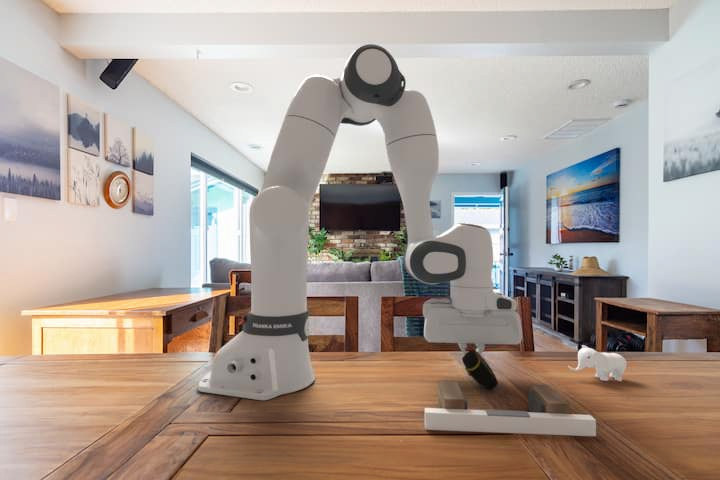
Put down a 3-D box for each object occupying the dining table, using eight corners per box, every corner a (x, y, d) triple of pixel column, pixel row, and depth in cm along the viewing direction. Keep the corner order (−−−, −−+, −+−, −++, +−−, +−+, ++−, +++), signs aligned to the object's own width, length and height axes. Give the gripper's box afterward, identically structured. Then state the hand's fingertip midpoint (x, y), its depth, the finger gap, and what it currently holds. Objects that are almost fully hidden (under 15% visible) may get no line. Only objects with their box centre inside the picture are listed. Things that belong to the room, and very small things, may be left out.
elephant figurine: (558, 372, 78) (558, 343, 78) (613, 372, 78) (613, 342, 78) (579, 386, 71) (579, 353, 71) (640, 385, 71) (640, 353, 71)
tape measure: (488, 395, 69) (503, 384, 68) (467, 379, 66) (483, 367, 66) (472, 369, 75) (486, 358, 75) (453, 353, 72) (467, 342, 72)
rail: (425, 432, 54) (425, 402, 54) (421, 406, 62) (421, 380, 62) (596, 441, 51) (596, 409, 51) (567, 412, 60) (567, 385, 60)
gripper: (423, 300, 76) (423, 366, 76) (525, 302, 74) (525, 369, 74) (421, 295, 82) (421, 356, 82) (514, 297, 80) (514, 359, 80)
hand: (471, 362), depth 78 cm, fingers closed
